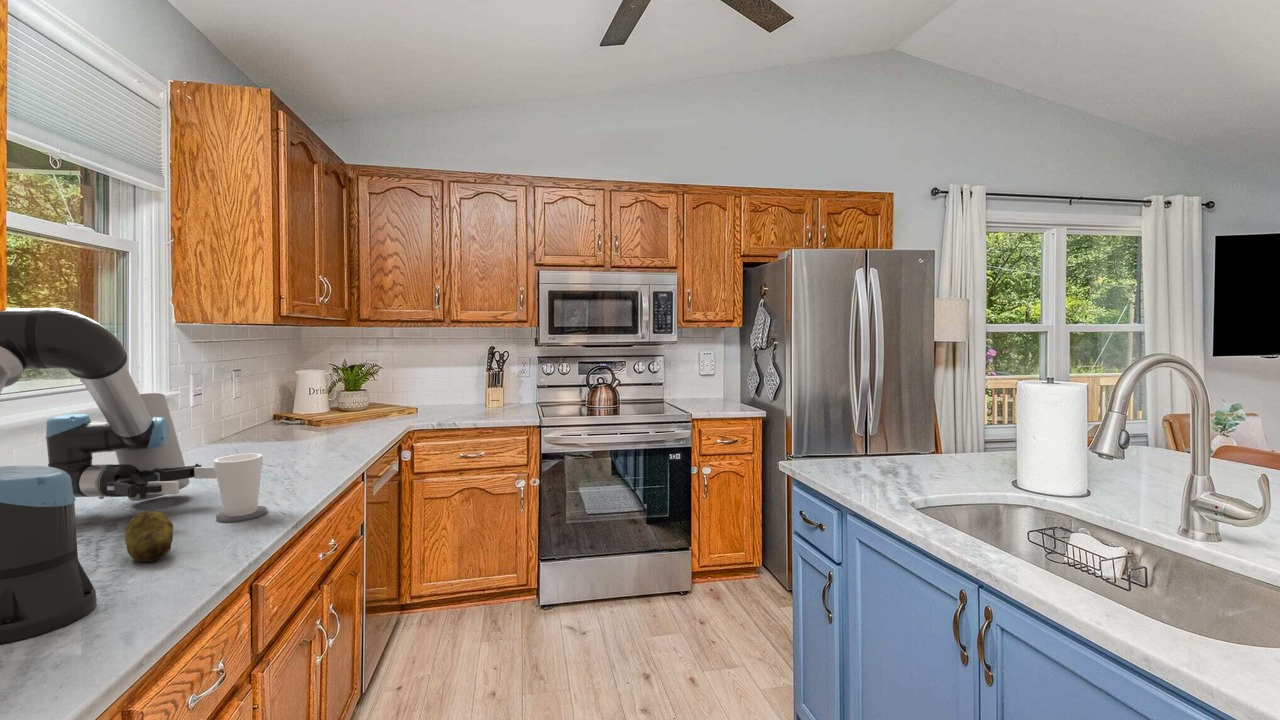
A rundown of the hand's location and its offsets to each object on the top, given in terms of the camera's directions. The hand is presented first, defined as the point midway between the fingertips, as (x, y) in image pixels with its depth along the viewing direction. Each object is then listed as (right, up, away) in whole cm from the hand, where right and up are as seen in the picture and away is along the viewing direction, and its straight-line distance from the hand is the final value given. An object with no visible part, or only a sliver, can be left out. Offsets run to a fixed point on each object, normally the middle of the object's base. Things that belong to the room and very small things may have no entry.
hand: (200, 479), depth 140 cm
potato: (+8, -10, -24) cm, 27 cm away
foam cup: (+9, -8, 0) cm, 12 cm away
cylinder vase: (-20, -6, +13) cm, 24 cm away
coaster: (+9, -9, 0) cm, 13 cm away
